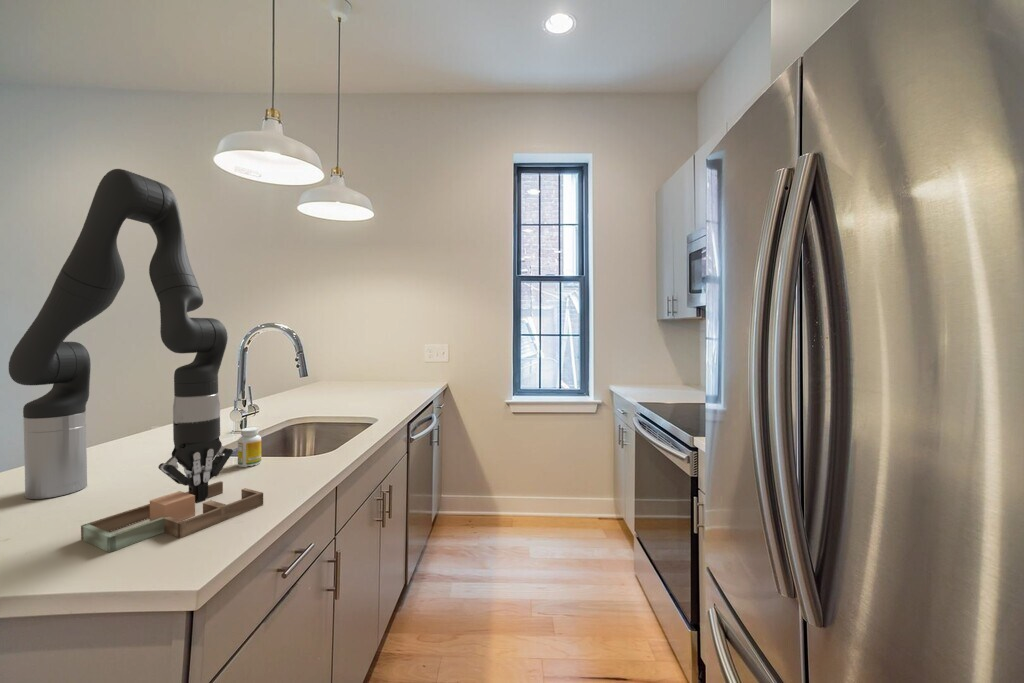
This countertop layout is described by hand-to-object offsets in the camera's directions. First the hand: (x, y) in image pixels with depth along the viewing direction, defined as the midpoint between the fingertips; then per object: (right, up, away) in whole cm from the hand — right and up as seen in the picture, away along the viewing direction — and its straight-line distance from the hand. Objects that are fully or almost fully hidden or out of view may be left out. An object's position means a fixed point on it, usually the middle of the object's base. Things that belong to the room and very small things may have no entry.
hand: (198, 501), depth 83 cm
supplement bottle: (-7, -1, +27) cm, 28 cm away
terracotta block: (-2, -2, -4) cm, 5 cm away
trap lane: (0, -2, -5) cm, 5 cm away
